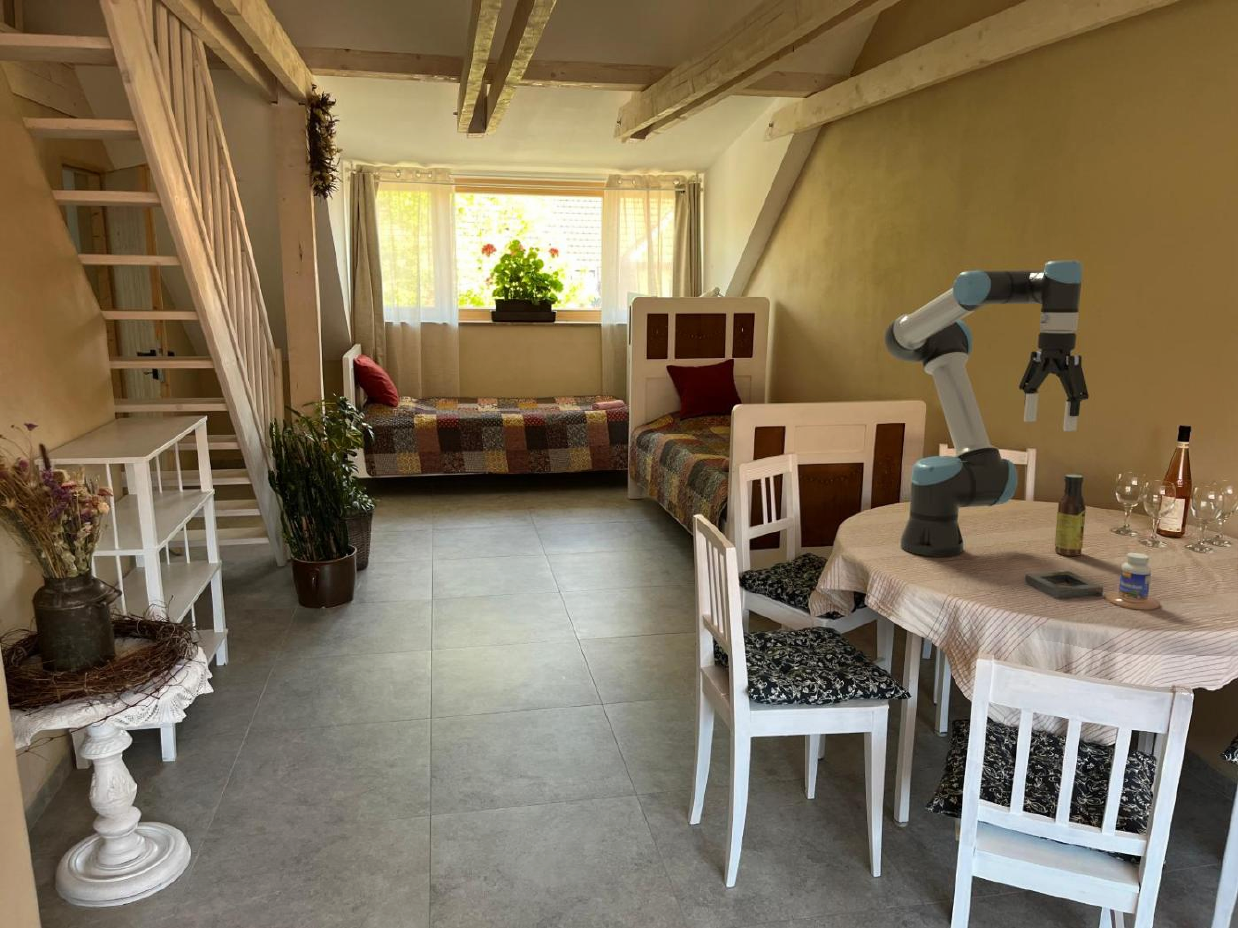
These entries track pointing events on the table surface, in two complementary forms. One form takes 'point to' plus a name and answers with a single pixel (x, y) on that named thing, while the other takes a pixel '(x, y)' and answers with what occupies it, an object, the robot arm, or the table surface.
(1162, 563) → the table surface
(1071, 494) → the sauce bottle
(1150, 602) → the coaster
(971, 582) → the table surface
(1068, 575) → the socket plate
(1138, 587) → the pill bottle
